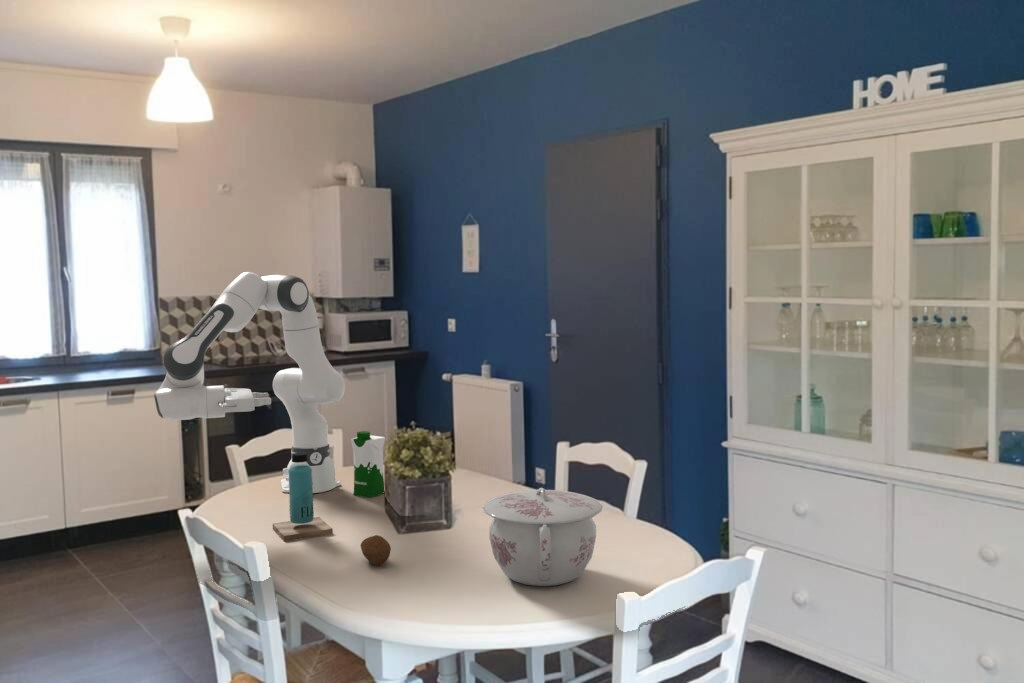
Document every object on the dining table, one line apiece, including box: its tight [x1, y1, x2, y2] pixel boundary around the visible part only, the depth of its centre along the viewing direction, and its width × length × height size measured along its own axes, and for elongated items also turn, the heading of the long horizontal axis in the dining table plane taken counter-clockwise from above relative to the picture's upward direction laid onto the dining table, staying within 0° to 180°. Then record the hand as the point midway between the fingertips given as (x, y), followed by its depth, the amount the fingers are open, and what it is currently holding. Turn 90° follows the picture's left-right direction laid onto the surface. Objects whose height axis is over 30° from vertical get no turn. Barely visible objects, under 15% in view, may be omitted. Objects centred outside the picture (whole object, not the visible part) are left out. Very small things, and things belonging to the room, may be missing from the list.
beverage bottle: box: [288, 453, 315, 524], centre depth 244 cm, size 6×7×20 cm
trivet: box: [272, 516, 334, 542], centre depth 245 cm, size 13×13×2 cm
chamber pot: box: [481, 487, 603, 587], centre depth 207 cm, size 28×28×21 cm
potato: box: [360, 534, 392, 566], centre depth 218 cm, size 7×12×7 cm, turn 36°
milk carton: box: [350, 430, 386, 499], centre depth 283 cm, size 9×9×20 cm
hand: (269, 398), depth 253 cm, fingers open, 8 cm apart
